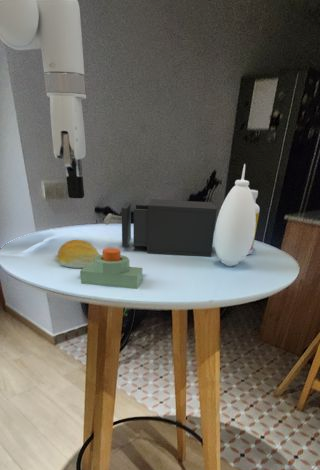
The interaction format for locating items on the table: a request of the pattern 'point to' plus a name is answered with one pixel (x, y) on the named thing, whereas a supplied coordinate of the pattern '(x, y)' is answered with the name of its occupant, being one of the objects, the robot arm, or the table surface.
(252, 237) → the sauce bottle
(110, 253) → the button
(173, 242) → the box
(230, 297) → the table surface
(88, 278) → the box
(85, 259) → the bread roll
